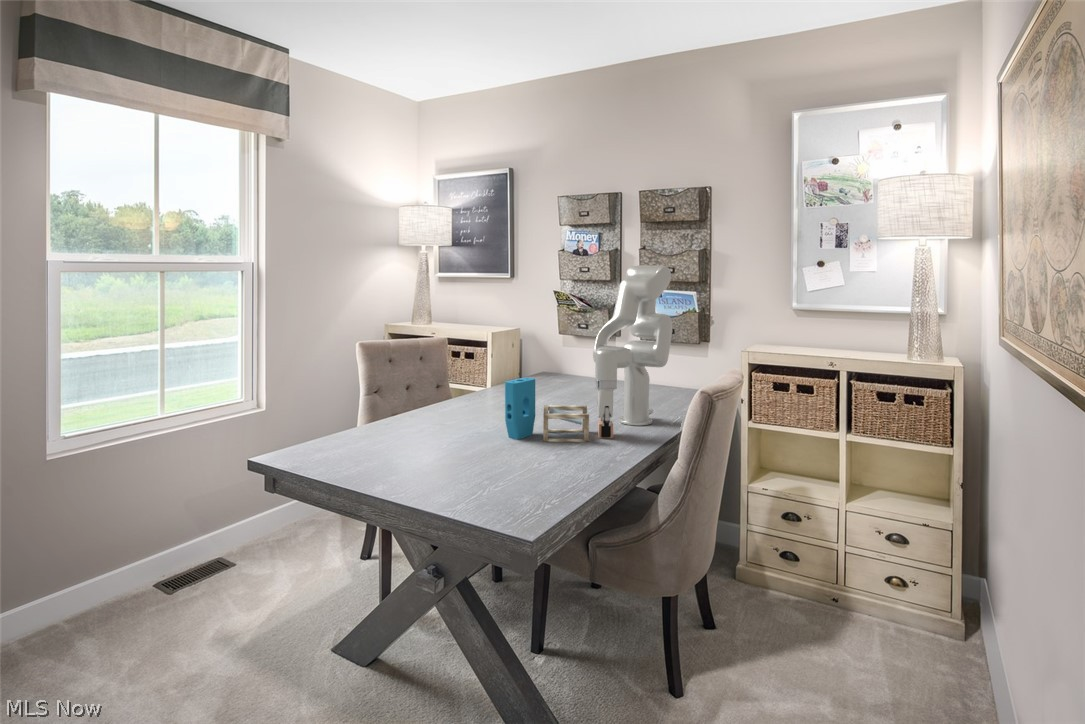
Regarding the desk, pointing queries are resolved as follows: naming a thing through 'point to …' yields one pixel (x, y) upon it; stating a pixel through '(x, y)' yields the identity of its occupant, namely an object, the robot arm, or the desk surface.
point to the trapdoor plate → (555, 411)
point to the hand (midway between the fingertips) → (605, 434)
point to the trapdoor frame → (566, 416)
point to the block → (520, 407)
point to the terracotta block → (600, 429)
